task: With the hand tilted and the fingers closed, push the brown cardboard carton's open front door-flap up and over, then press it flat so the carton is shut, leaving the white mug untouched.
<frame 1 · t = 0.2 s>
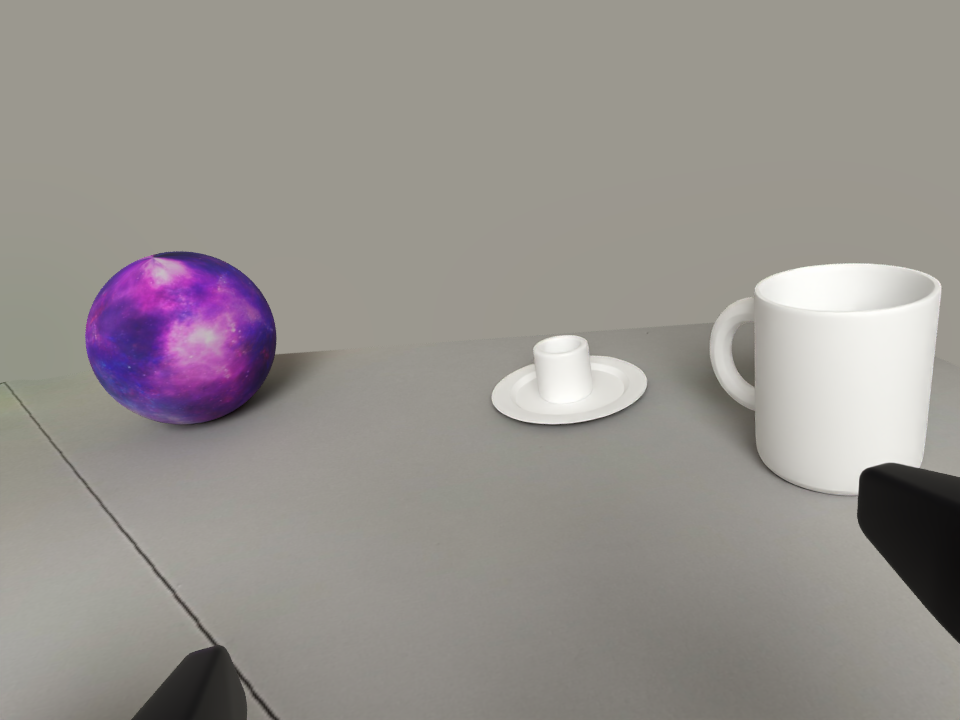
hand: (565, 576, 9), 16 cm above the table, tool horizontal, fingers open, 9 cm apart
mug: (802, 450, 38), on the table
candle holder: (569, 396, 49), on the table
decorative orb: (214, 415, 58), on the table
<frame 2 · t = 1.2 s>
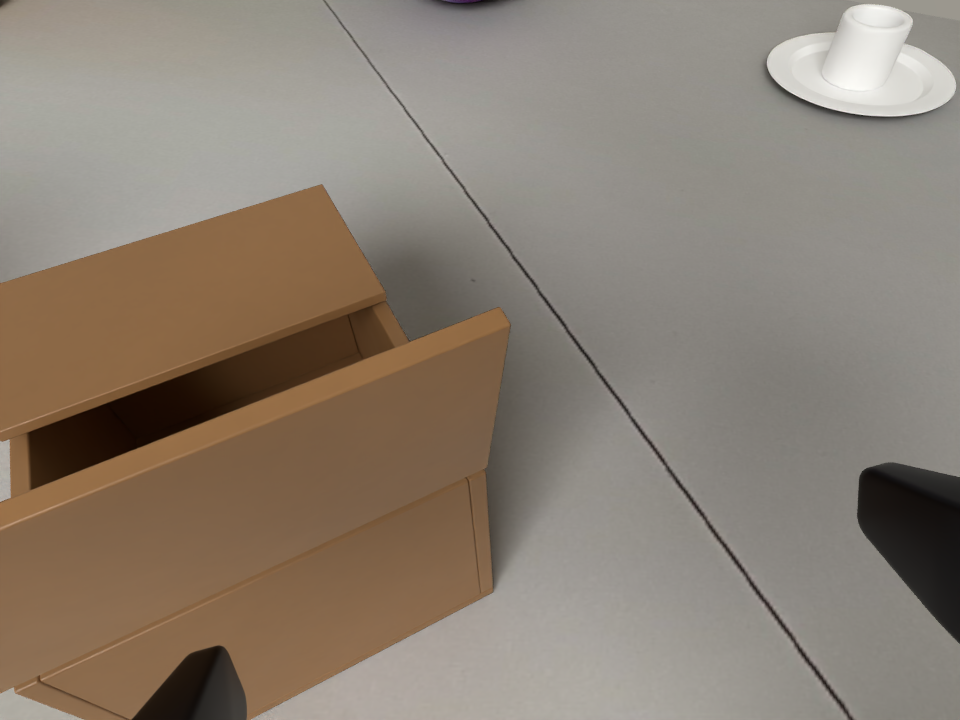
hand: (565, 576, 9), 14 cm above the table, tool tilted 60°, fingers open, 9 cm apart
candle holder: (852, 83, 44), on the table
flap: (220, 522, 11), point 12 cm above the table, hinge at 101.0°
carton: (293, 509, 25), on the table
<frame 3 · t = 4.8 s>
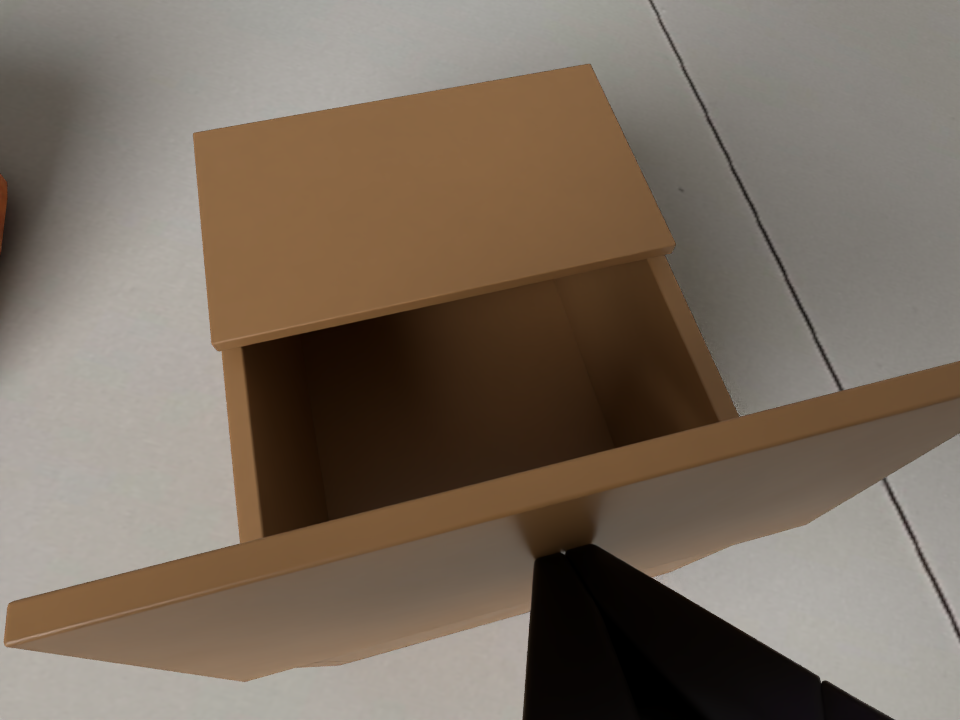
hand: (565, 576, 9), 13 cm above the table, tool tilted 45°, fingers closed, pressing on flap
flap: (554, 548, 9), point 12 cm above the table, hinge at 85.5°, touching gripper
carton: (460, 429, 23), on the table
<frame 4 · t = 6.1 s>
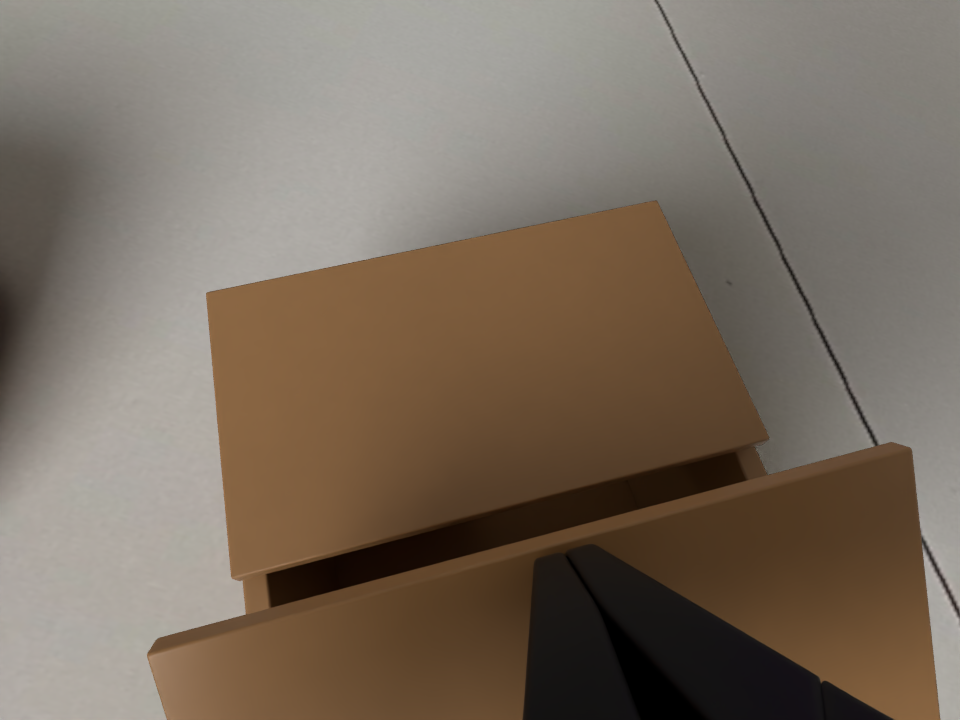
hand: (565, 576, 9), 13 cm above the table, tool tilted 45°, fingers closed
carton: (497, 569, 21), on the table
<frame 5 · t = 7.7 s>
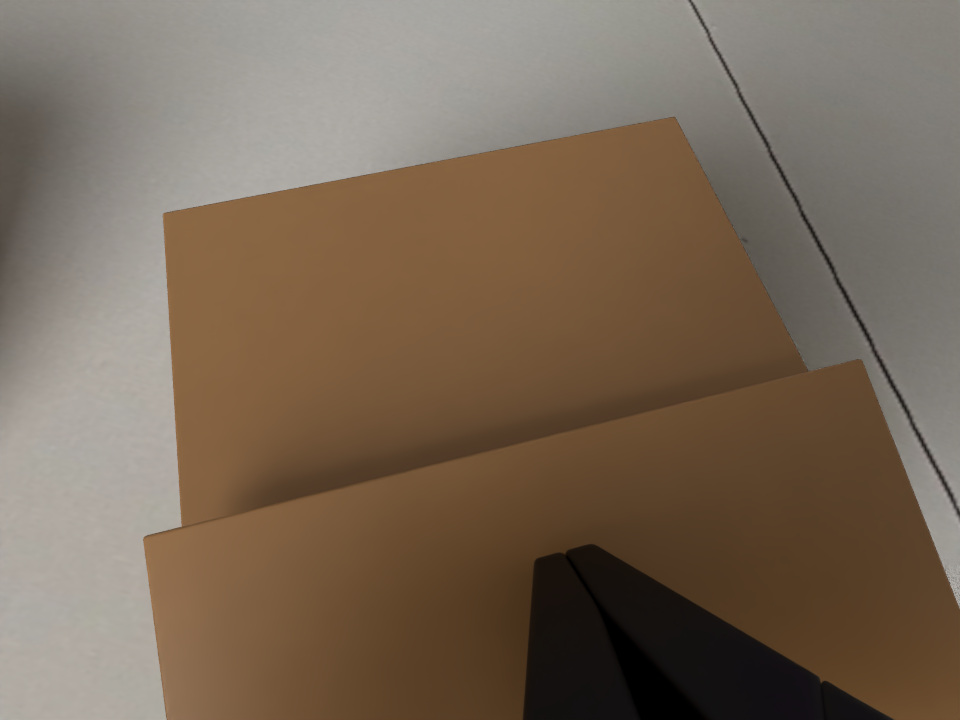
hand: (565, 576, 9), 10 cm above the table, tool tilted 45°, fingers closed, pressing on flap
flap: (585, 666, 9), point 10 cm above the table, hinge at 11.8°, touching gripper
carton: (495, 541, 19), on the table
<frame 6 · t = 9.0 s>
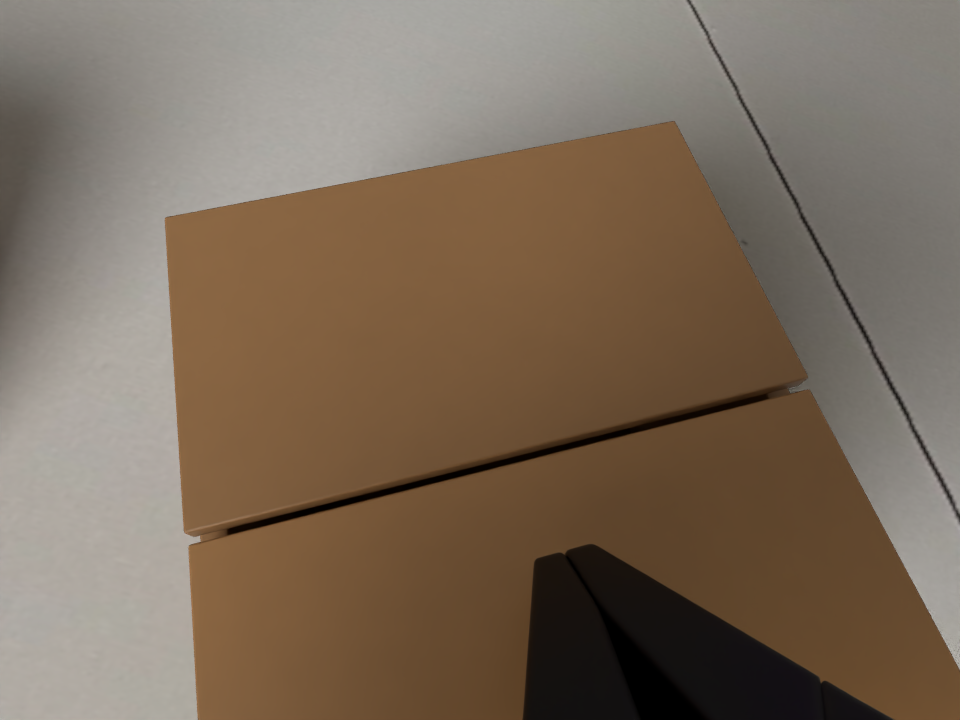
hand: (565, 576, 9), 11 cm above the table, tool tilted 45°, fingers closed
flap: (575, 663, 9), point 9 cm above the table, hinge at -1.2°
carton: (496, 543, 19), on the table
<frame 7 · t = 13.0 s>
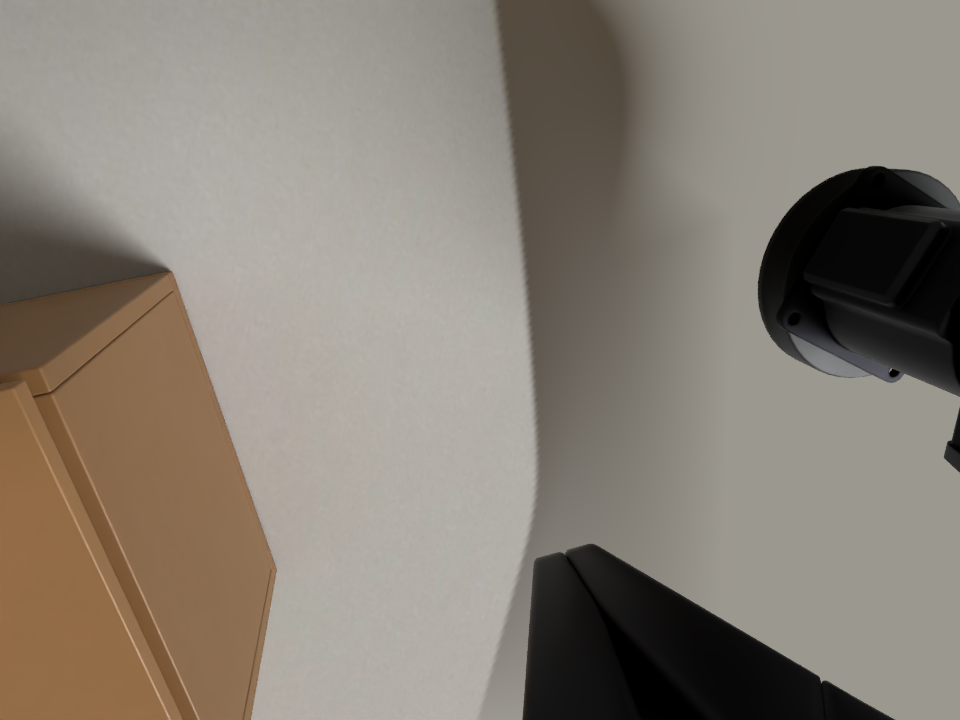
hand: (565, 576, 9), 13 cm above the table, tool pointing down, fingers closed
carton: (19, 483, 20), on the table
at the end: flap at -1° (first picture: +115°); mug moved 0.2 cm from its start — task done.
